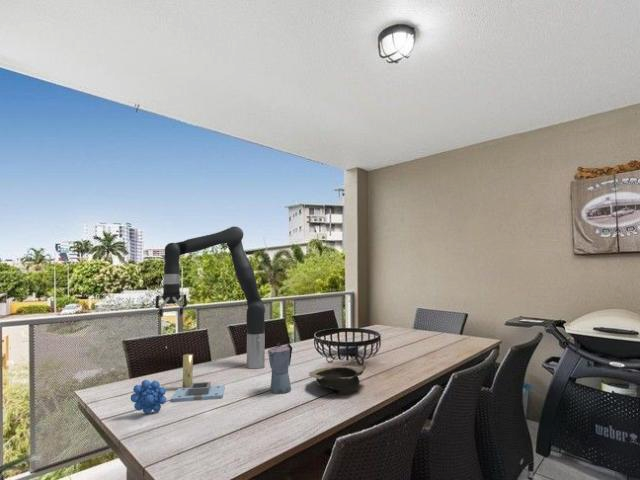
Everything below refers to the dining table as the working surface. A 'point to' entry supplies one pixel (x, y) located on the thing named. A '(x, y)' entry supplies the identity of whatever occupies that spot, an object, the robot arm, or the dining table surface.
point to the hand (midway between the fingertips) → (171, 316)
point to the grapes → (148, 396)
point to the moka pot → (280, 368)
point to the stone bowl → (339, 378)
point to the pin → (187, 370)
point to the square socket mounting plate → (199, 392)
